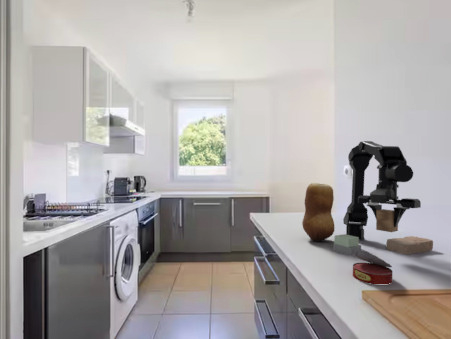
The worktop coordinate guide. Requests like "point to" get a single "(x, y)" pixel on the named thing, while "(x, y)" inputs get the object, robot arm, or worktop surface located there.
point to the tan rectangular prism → (385, 220)
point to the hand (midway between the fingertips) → (387, 225)
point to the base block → (345, 249)
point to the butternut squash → (318, 212)
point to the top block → (346, 240)
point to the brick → (409, 245)
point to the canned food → (371, 268)
